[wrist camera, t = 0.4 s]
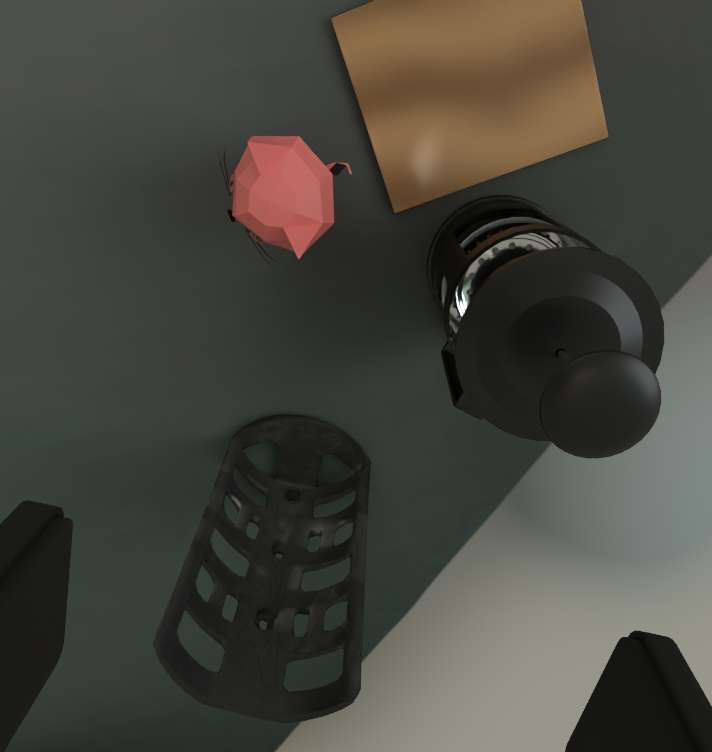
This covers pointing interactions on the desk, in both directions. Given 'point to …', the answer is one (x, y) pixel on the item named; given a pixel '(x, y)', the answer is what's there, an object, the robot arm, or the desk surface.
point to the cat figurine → (283, 192)
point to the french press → (545, 330)
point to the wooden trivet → (469, 88)
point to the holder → (274, 578)
